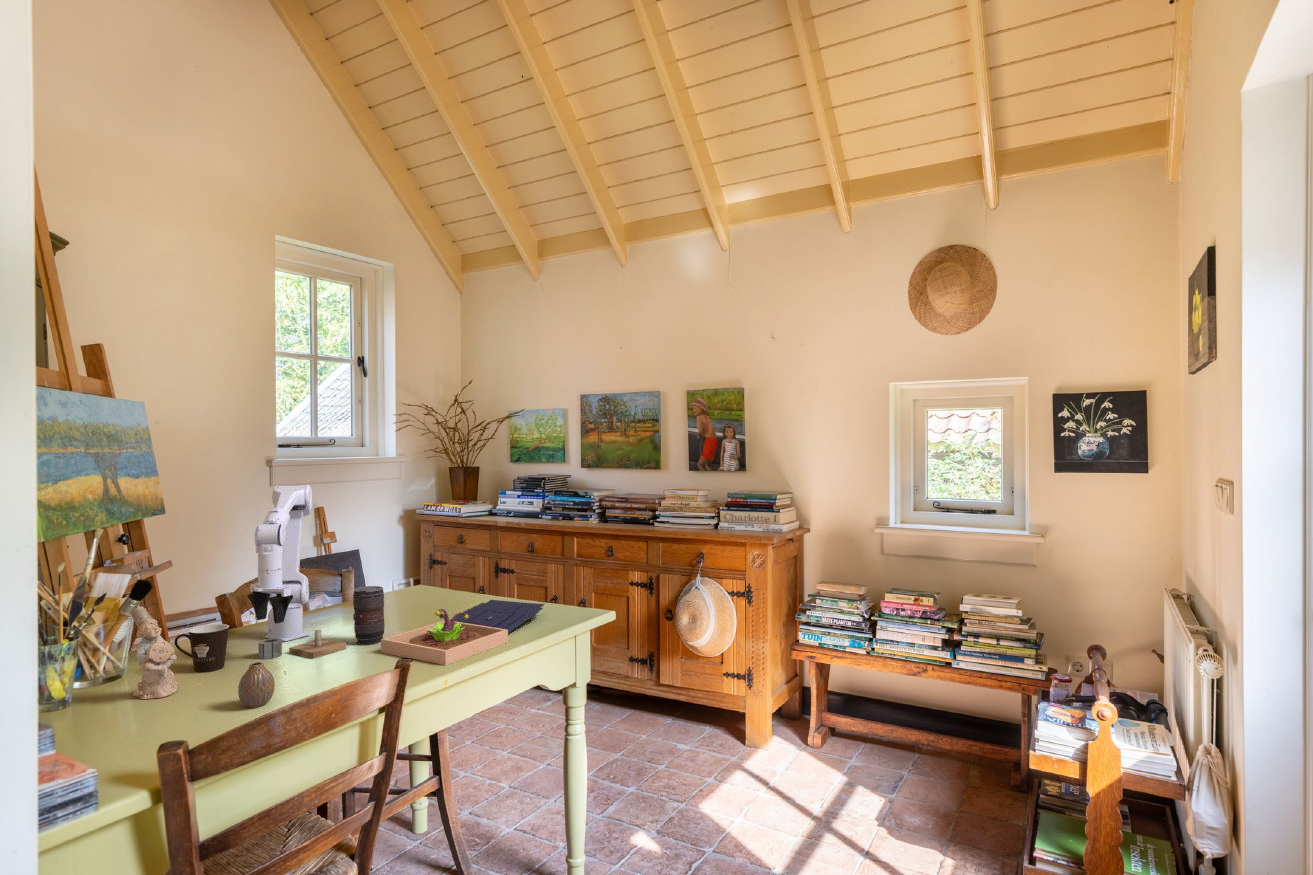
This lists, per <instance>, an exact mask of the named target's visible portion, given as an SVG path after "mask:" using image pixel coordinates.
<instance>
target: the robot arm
mask: <svg viewBox="0 0 1313 875" xmlns="http://www.w3.org/2000/svg"><path fill="white" fill-rule="evenodd" d="M271 499H272V504H273V505H274V507H273V508H271V510H269V511H268V512H267V514H266V516H265V518H264V520H263V522H262V524H259V526H256V528H255V530H254V536H253V537H254V544H255V552H256V554H257V582H256V583H250V584H249V586H250V587H249V590H250V591H249V592H251V593H248V594H247V598H248V600H249V601H250V603H251V605H252V608H253V611H254V614H255V618H256V620H257V621H261V620H266V619H267V635H264V638H265V639H271V638H279V639H282V642H289V641H292V640H296V639H300V638H304V637H308V636H310V633H309V632H303V631H304V627H303V625H304V610H303V608H304V605H305V604H306V603H308V601H309V598H310V588H309V587H310V586H309V583H310V582H309V579H308V576H306V575H305V574H303V573H301V572H300V564H301V550H302V541H303V540H302V539H303V529H304V521H305V517H306V516H309V515H310V514H311V510H312V506H313V489H312V487H311V485H310V484H306V485H305V484H302V485H278V484H277V485H275V486H274V487H273V489H272V494H271ZM268 605H270V606H271V608H270V609H269V611H268ZM267 614H268V615H267Z"/></svg>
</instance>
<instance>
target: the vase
mask: <svg viewBox="0 0 1313 875" xmlns="http://www.w3.org/2000/svg"><path fill="white" fill-rule="evenodd" d="M275 682H276V681H275V678H274V676H273V673H272V672H271V671H269V669H268V668H267V667H266V665H264V662H262V661H257V662H256V661H255V662H252V663H250V664H249V666H248V669H247V670H246V671H245V672H244V674H243V675H242V676H241V677H240V680H239V683H238V687H237V693H238V694H237V696H238V698H239V699H238V700H239V701H240V702H241V704H242V705H243V706H245V707H247V708H249V709H250V708H259V707H264V706H265V705H267V704H268V703H269V702H270V701H271V699H272V698H273V696H274V693H275V690H276V689H275V688H276V683H275Z"/></svg>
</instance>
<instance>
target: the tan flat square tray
mask: <svg viewBox="0 0 1313 875" xmlns="http://www.w3.org/2000/svg"><path fill="white" fill-rule="evenodd" d="M438 623H439V624H442V625H444V623H445V620H443V621H439V622H434V623H431V624H428V625H425V626H421V627H418V628H415V629H412V630H411V629H410V630H409V631H405V632H401V633H397V634H395V635H394V634H393V635H391V636H388V637H383V639H381V641H380V653H383V654H388V655H393V656H398V657H403V658H408V659H411V660H412V659H413V660H417V661H423V662H427V663H428V662H429V663H433V664H438V665H442V666H447V665H450V664H452V663H453V664H454V663H455V662H458V661H461V660H464V659H466V658H469V657H472V656H475V655H477V654H480V653H482V652H485V651H488V650H491V649H494V648H496V647H499V646H502V645H505V644H508V643H509V633H508V630H506V629H500V628H493V627H487V626H481V625H474V624H468V623H461V622H454V625H455V624H457V623H461V626H460V629H462V628H464V629H463V631H469V630H470V631H471V632H477V633H478V634H480V635H482V636H484V637H482V638H479V639H476V640H474V641H471V642H468V643H465V644H462V645H459V646H456V647H453V648H450V649H447V650H442V649H437V648H432V647H426V646H421V645H415V644H410V643H409V642H410V639H412V638H414V637H416V636H419V635H422V634H425V633H427V631H428V630H427V629H431V630H433V631H434V632H436V630H435V629H434V628H433V626H435V627H437V624H438ZM460 629H459V630H460ZM428 633H429V632H428Z"/></svg>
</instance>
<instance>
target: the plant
mask: <svg viewBox="0 0 1313 875" xmlns="http://www.w3.org/2000/svg"><path fill="white" fill-rule="evenodd" d="M442 612H443V613H442ZM460 614H463V615H464V618H465V619H468V615H467V614H466V613H462V611H461V612H458V613H456V614H454V615H453V617H452V618H450V619H451V620H450V619H449V614H448V612H447V611H446V609H444V608H439V609H436V611H435V612H434V615H435V616H436V617H439V619H440V620H443V621H445V623H444V625H442V624H439V623H438V622H437V623H438V624H437V627H435V626H433V628H434V629H435V630H436V632H434V631H433V630H431V629H427V630H428V631H427V633H425V634H422V635H419V636H416V637H414V638H412V639H410V642H409V643H410V644H415V645H421V646H426V647H432V648H437V649H442V650H447V649H450V648H453V647H456V646H459V645H462V644H465V643H468V642H471V641H474V640H476V639H479V638H482V637H484V636H482V635H480V634H478V633H477V632H471V631H470V630H469V631H463V629H464V628H462V629H460V626H461V623H457V624H455V625H454V622H455V619H456V617H457V616H458V615H460ZM449 620H450V621H449ZM459 629H460V630H459ZM428 632H429V633H428Z"/></svg>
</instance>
